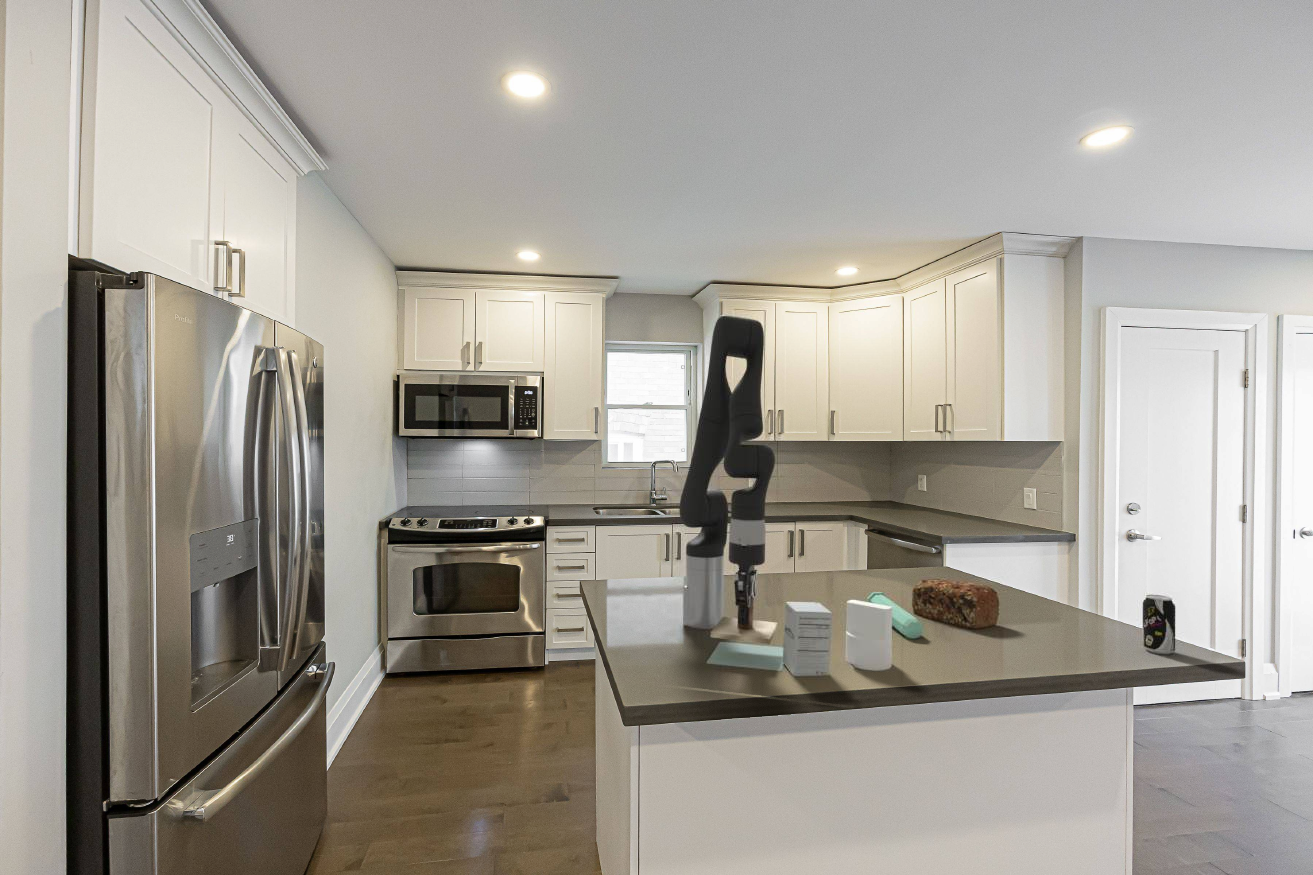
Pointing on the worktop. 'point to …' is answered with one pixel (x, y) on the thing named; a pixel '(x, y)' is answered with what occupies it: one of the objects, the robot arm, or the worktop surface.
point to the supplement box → (807, 638)
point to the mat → (748, 656)
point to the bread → (956, 602)
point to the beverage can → (1158, 624)
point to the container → (899, 616)
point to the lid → (745, 629)
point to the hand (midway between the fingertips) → (745, 621)
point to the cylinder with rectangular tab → (869, 635)
